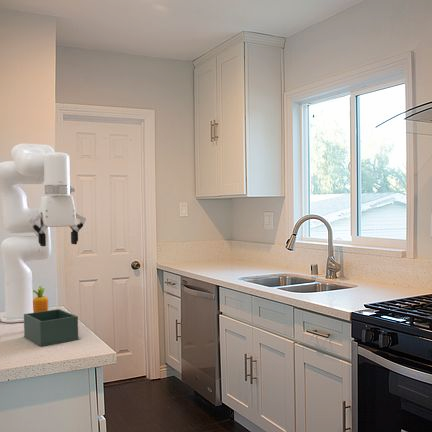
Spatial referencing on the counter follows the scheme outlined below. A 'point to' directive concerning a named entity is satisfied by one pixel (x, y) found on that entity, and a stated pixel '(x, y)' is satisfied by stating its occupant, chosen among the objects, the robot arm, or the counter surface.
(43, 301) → the carrot
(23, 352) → the counter surface
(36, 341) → the bin
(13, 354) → the counter surface
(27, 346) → the counter surface
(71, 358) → the counter surface
